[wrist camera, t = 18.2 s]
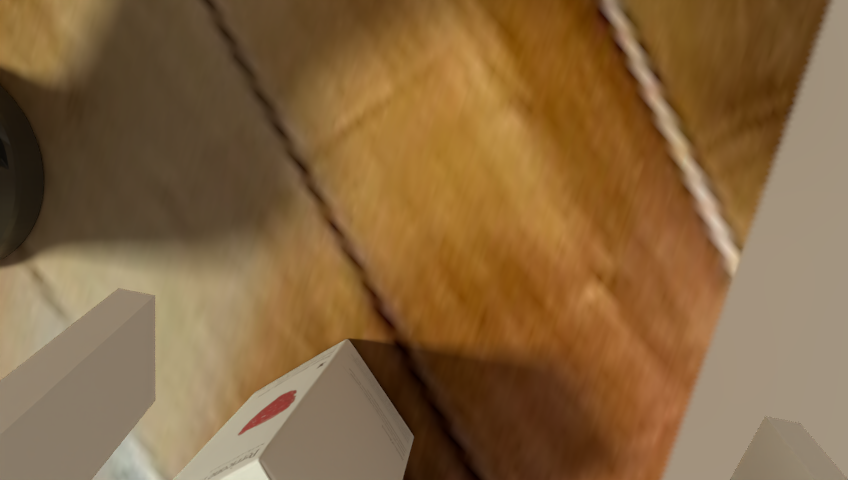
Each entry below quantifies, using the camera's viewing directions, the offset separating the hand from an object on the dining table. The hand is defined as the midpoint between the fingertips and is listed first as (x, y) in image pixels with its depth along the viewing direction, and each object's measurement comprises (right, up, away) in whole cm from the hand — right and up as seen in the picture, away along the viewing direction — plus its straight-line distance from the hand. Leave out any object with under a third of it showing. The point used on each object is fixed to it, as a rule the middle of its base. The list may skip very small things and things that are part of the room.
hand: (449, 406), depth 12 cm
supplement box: (-7, -9, +27) cm, 30 cm away
